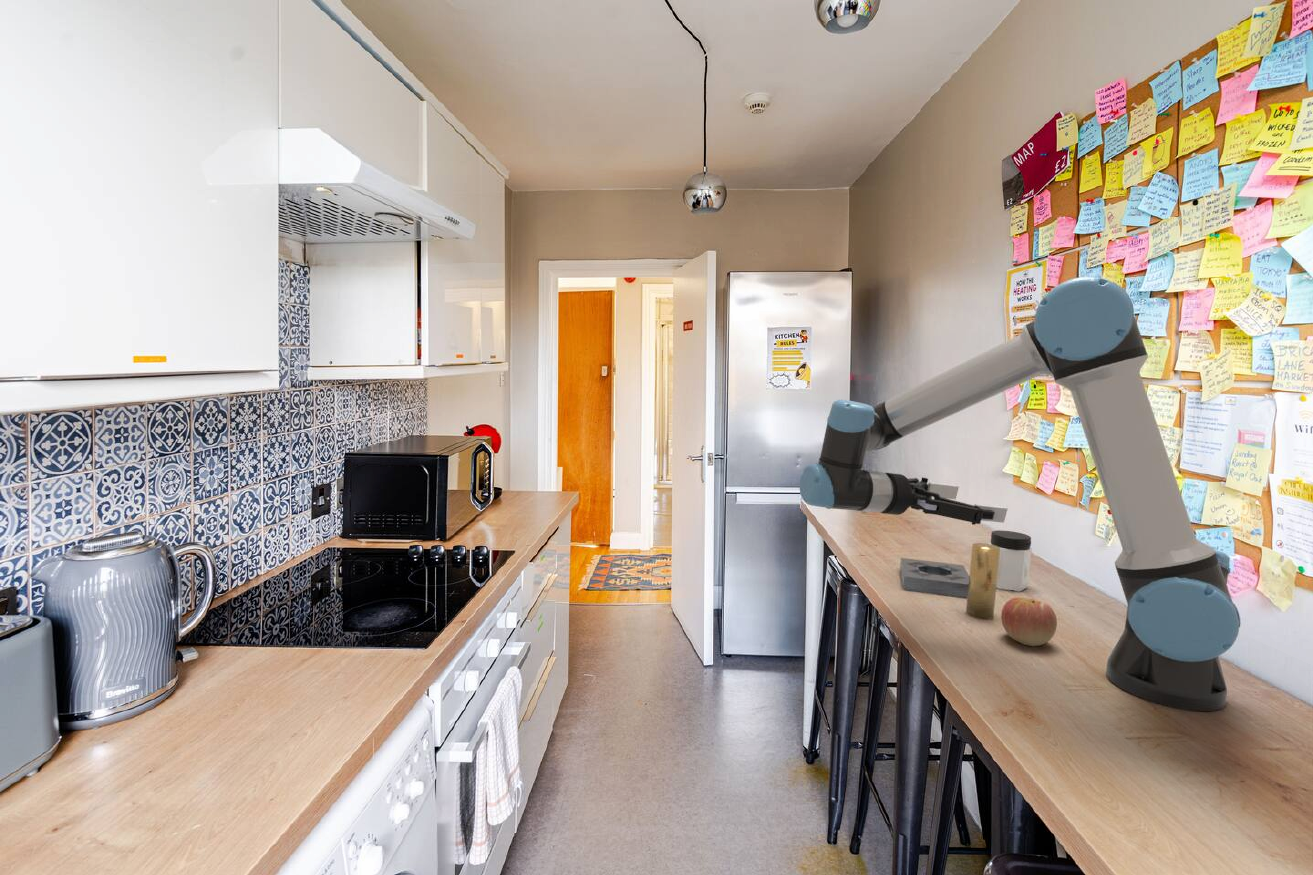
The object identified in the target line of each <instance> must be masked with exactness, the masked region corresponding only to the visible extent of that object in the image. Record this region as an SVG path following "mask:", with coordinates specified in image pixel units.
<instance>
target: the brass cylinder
mask: <svg viewBox="0 0 1313 875" xmlns="http://www.w3.org/2000/svg"><path fill="white" fill-rule="evenodd" d="M970 555H971V557H970V566H969V574H968V575H969V586H968V596H967V598H966V607H965V613H966V614H967V615H968V616H970V617H973V618H977V619H980V620H992V619H993V618H994V614H995V613H994V612H995V604H996V595H997V594H996V593H997V588H996V586H997V576H998V567H999V557H1000V547H998V546H995V545H991V544H989V543H982V542H975V543H974V542H973V543H972V545H971V554H970Z"/></svg>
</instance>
